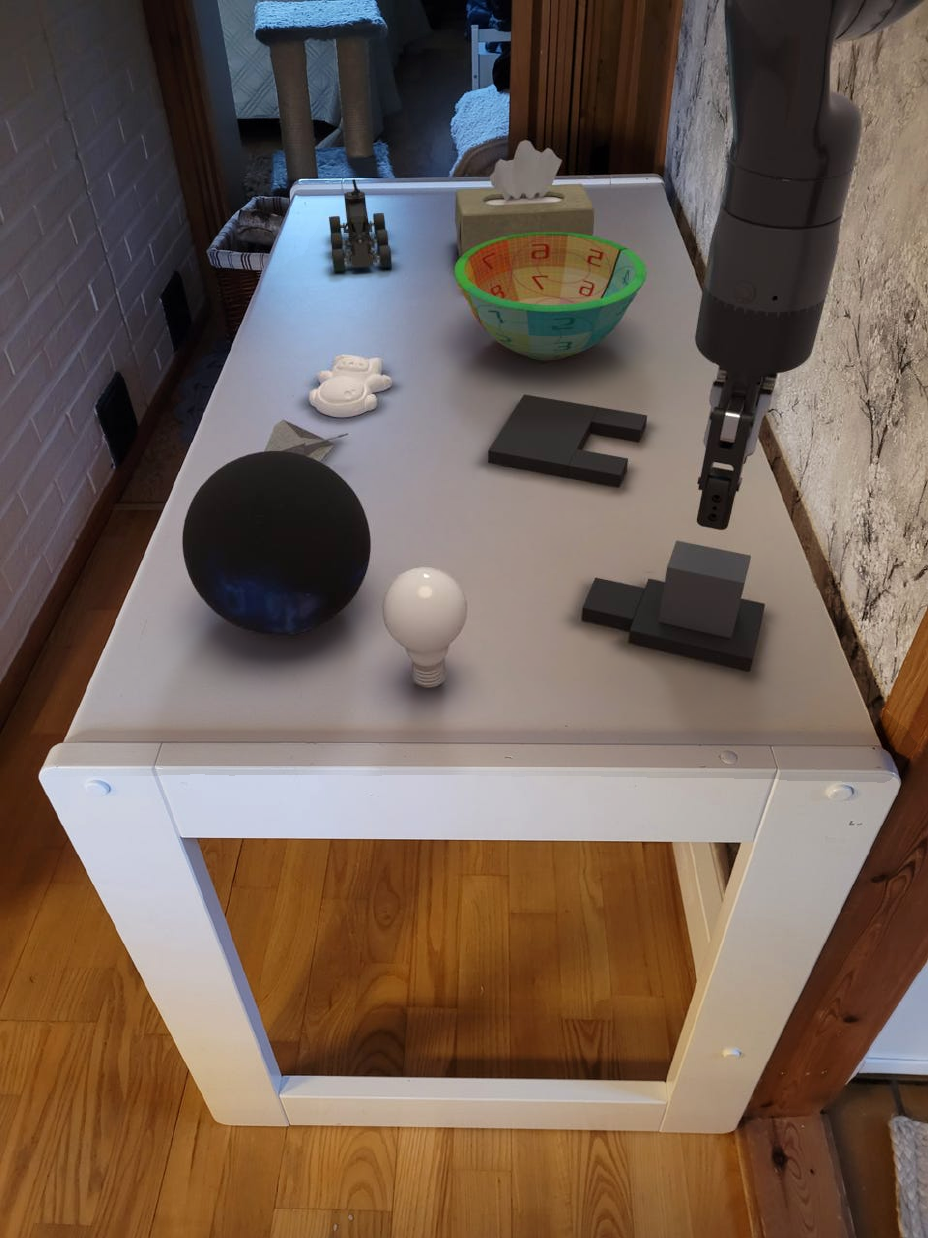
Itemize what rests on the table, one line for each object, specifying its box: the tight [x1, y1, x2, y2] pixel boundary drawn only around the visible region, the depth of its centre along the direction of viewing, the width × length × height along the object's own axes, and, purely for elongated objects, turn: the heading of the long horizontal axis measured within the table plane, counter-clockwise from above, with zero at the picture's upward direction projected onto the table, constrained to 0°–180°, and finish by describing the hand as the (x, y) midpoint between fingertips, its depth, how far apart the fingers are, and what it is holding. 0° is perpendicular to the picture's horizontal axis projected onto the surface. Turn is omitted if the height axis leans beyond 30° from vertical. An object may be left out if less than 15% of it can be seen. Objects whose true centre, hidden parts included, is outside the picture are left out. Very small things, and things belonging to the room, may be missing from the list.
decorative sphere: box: [181, 451, 372, 636], centre depth 78 cm, size 15×15×15 cm
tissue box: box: [454, 139, 595, 259], centre depth 133 cm, size 19×10×16 cm, turn 95°
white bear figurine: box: [308, 353, 393, 418], centre depth 110 cm, size 9×12×3 cm
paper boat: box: [263, 419, 349, 462], centre depth 97 cm, size 12×6×9 cm
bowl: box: [453, 232, 648, 361], centre depth 114 cm, size 22×22×10 cm
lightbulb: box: [381, 566, 468, 688], centre depth 73 cm, size 6×6×11 cm
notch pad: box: [487, 393, 648, 488], centre depth 101 cm, size 14×12×2 cm
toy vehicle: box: [328, 178, 393, 273], centre depth 137 cm, size 8×15×9 cm, turn 8°
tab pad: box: [581, 540, 766, 672], centre depth 78 cm, size 14×7×8 cm, turn 69°
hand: (721, 492), depth 71 cm, fingers open, 8 cm apart
